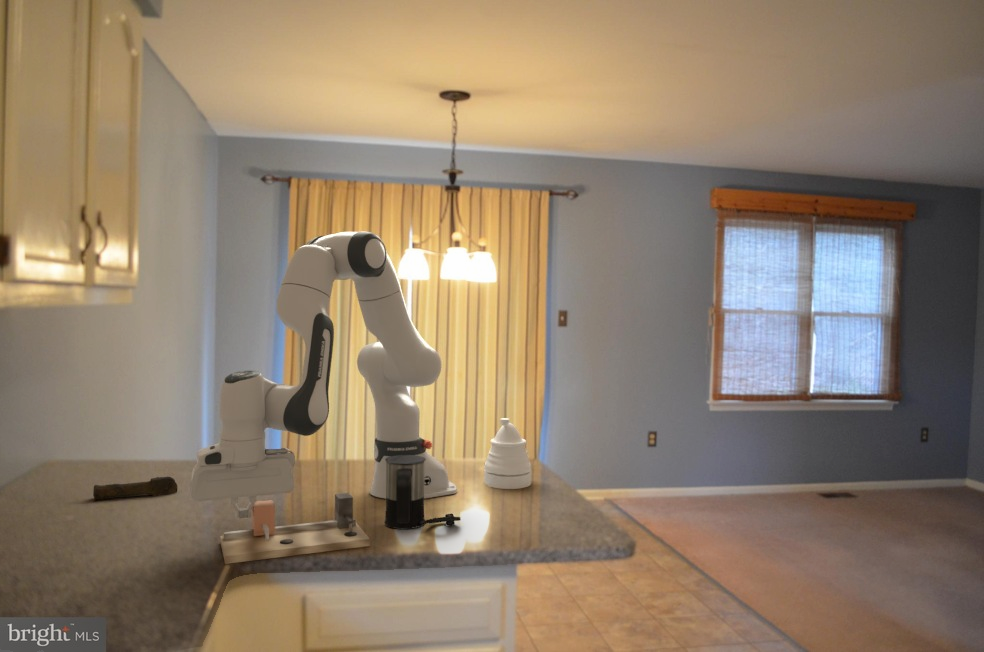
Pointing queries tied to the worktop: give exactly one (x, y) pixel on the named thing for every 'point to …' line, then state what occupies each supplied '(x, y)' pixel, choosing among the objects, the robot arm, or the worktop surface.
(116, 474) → the worktop surface
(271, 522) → the block
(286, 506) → the worktop surface
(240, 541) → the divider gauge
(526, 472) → the honey pot
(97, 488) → the hand tool
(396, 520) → the milk frother
